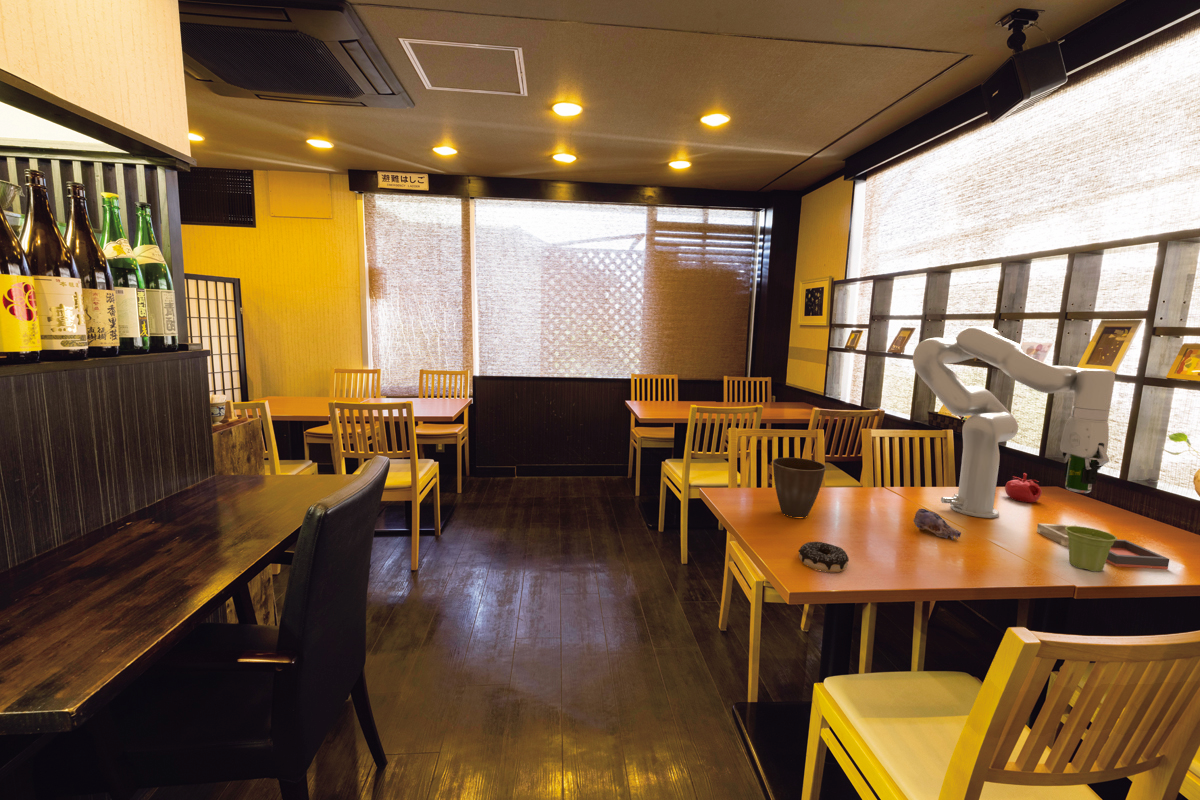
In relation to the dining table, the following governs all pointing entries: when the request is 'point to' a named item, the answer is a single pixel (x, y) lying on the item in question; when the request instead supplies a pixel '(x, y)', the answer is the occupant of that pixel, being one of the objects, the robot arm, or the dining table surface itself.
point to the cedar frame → (1054, 532)
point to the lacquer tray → (1135, 556)
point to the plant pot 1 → (797, 484)
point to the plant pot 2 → (1088, 547)
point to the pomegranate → (1023, 490)
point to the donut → (823, 556)
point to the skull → (934, 524)
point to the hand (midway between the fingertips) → (1079, 479)
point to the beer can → (1076, 475)
